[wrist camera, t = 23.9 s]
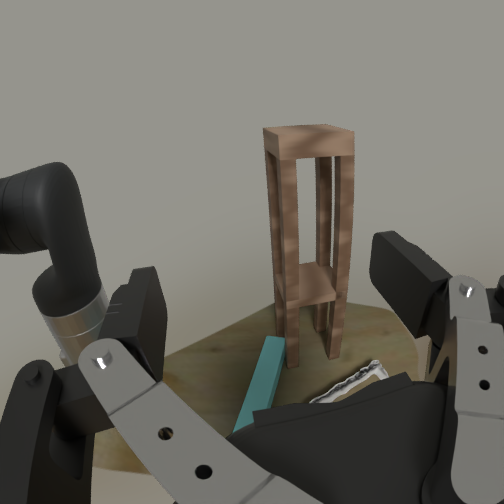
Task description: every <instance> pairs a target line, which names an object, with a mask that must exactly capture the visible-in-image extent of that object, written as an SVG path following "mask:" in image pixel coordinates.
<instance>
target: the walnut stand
mask: <svg viewBox="0 0 504 504" xmlns="http://www.w3.org/2000/svg"><path fill="white" fill-rule="evenodd" d="M263 135H264V148H265V161H266V175H267V188H268V202H269V215H270V216H269V217H270V231H271V246H272V263H273V278H274V296H275V315H276V333H277V337H283V338H285V362H286V365H287V368H288V369H290V368H295V367H298V361H299V307H303V306H309V305H314V304H315V309H314V328H315V330H316V332H321V331H326V321H327V308H328V302H329V301H330V313H329V325H328V336H327V346H326V354H327V356H328V358H329V360H331V359H335V358H339V354H340V348H341V340H342V333H343V326H344V317H345V309H346V300H347V290H348V280H349V269H350V257H351V243H352V242H351V241H352V225H353V203H354V132H353V131H350V130H346V129H342V128H339V127H335V126H331V125H326V124H320V125H297V126H282V127H268V128H263ZM332 156H335V216H334V247H333V268H332V267H331V266H330V253H331V252H330V251H331V218H332V216H331V215H332V158H331V157H332ZM313 157H315V164H316V165H315V166H316V167H315V168H316V169H315V170H316V262H310V263H304V264H299V235H298V204H297V201H298V200H297V177H296V159H300V158H313Z"/></svg>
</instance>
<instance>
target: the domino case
mask: <svg viewBox="0 0 504 504" xmlns="http://www.w3.org/2000/svg"><path fill="white" fill-rule="evenodd" d="M284 358H285V338H283V337H273V336H266V339H265V342H264V345H263V348H262V351H261V354H260V357H259V360H258V363H257V366H256V369H255V372H254V374H253V377H252V380H251V383H250V386H249V389H248V391H247V394H246V397H245V400H244V403H243V405H242V408H241V411H240V414H239V416H238V419H237V422H236V425H235V427H234V430H233V433H234V432H235V431H237V430H239V429H240V428H242V427H244V426H246V425H249V424H251V423H254V420H253V414H252V411H256V410H262V409H267V408H271V405H272V402H273V398H274V395H275V391H276V387H277V384H278V380H279V376H280V373H281V369H282V365H283V361H284Z"/></svg>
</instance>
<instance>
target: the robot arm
mask: <svg viewBox="0 0 504 504" xmlns="http://www.w3.org/2000/svg"><path fill="white" fill-rule="evenodd" d="M47 249H49V252H50V256H51V259H52V263H53V265H52V266H50V267H49V268H48V269H46V270H45V271H44V272H43V273H42V274H41V275H40V276H39V277H38V278H37V280H36V281H35V283H34V285H33V288H32V294H33V298H34V300H35V302H36V305H37V306H38V309H39V310H40V312H41V314H42V316H43V318H44V320H45V322H46V324H47V326H48V328H49V330H50V331H51V333H52V335H53V337H54V338H55V340H56V342H57V344H58V346H59V347H60V349H61V352H60V359H61V361H62V362H63V364H64V366H65V368H62V369H59V370H54V368H53V367H52V365H51V364H50V363H49V362H47V361H45V360H35V361H32V362H30V363H28V364H26V365H25V366H24V367H23V368H22V369H21V370H20V371H19V372H18V374H17V376H16V378H15V380H14V383H13V386H12V389H11V392H10V394H9V397H8V400H7V403H6V406H5V409H4V413H3V416H2V420H1V422H0V504H91V477H92V462H93V449H94V438H95V433H97V432H100V431H104V430H107V429H110V428H114V427H116V429H117V430H118V431H119V433H120V434H121V436H122V437H123V438H124V440H125V441H126V442H127V444H128V445H129V446H130V448H131V449H132V450H133V452H134V453H135V454H136V455H137V457H138V458H139V459H140V461H141V462H142V463H143V464H144V465H145V467H146V468H147V469H148V470H149V472H150V473H151V474H152V475H153V476H154V477H155V479H157V481H158V482H159V483H160V484H161V485H162V487H163V488H164V489H165V490H166V491H167V492H168V493H169V494H170V495H171V496H172V498H173V499H174V500H175V502H174V503H173V504H504V275H503V276H501V277H500V279H499V282H498V285H497V288H494V289H493V288H490V289H485V288H484V286H483V285H482V284H481V283H480V282H479V281H478V280H476V279H474V278H472V277H469V276H462V275H459V276H454V277H453V276H451V275H450V274H449V273H448V272H447V271H446V270H445V269H444V268H442V267H441V266H440V265H439V264H438V263H437V262H436V261H434V260H432V258H431V257H430V256H429V255H427V254H426V253H425V252H424V251H423V250H422V249H420V248H419V247H418V246H416V245H414V244H412V243H409V242H407V241H406V240H405V239H404V238H403V237H401V236H400V235H399V234H398V233H396V232H395V231H386V232H379V233H375V234H374V236H373V240H372V250H371V260H370V268H369V273H370V279H371V282H372V284H373V285H374V286H375V288H376V289H377V290H378V291H379V293H380V294H381V295H382V296H383V298H384V299H385V300H386V301H387V303H388V304H389V305H390V306H391V308H392V309H393V310H394V312H395V313H396V314H397V315H398V317H399V318H400V319H401V321H402V322H403V323H404V325H405V326H406V327H407V328H408V330H409V331H410V332H411V334H412V335H413V336H414V338H415V339H416V338H420V337H422V336H426V335H428V336H429V337H430V338H431V340H430V343H429V347H428V356H427V365H426V372H425V379H424V381H411V379H410V378H409V376H408V374H407V373H406V372H403V373H400V374H397V375H394V376H392V377H389V378H386V379H383V380H379V381H376V382H373V383H371V384H370V385H368V386H366V387H365V388H363V389H361V390H359V391H358V392H356V393H354V394H352V395H351V396H349V397H347V398H345V399H343V400H341V401H339V402H330V403H293V404H288V405H283V406H278V407H273V408H267V409H262V410H256V411H252V414H253V420H254V423H251V424H249V425H246V426H244V427H242V428H240V429H239V430H237V431H235V432H234V433H232V434H231V435H229V436H228V437H226V438H224V437H222V436H221V435H220V434H219V433H218V432H216V431H215V430H214V429H213V428H212V427H211V426H210V425H208V424H207V423H206V422H205V421H204V420H203V419H202V418H201V417H200V416H198V415H197V414H196V413H195V412H194V411H193V410H192V409H191V408H190V407H189V406H188V405H187V404H186V403H184V402H183V401H182V400H181V399H180V398H179V397H178V396H177V395H176V394H175V393H174V392H173V391H172V390H171V389H170V388H169V387H168V386H167V385H166V384H165V383H164V382H162V379H163V365H164V352H165V340H166V330H167V308H166V303H165V300H164V296H163V293H162V289H161V286H160V282H159V279H158V275H157V272H156V269H155V267H154V266H152V267H145V268H138V269H133V271H132V273H131V276H130V279H129V283H128V284H125V285H121V286H120V287H119V288H118V289H117V290H116V291H115V292H114V293H113V295H112V297H111V300H110V303H109V301H108V298H107V296H106V293H105V290H104V288H103V285H102V282H101V279H100V277H99V274H98V269H97V264H96V257H95V253H94V249H93V246H92V242H91V238H90V235H89V231H88V226H87V222H86V218H85V213H84V208H83V203H82V199H81V195H80V191H79V187H78V184H77V181H76V179H75V177H74V175H73V173H72V172H71V170H70V169H69V168H68V167H67V165H65V164H64V163H61V162H53V163H49V164H45V165H42V166H39V167H36V168H33V169H30V170H27V171H24V172H21V173H18V174H15V175H13V176H9V177H6V178H1V179H0V254H27V253H31V252H37V251H42V250H47Z"/></svg>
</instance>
